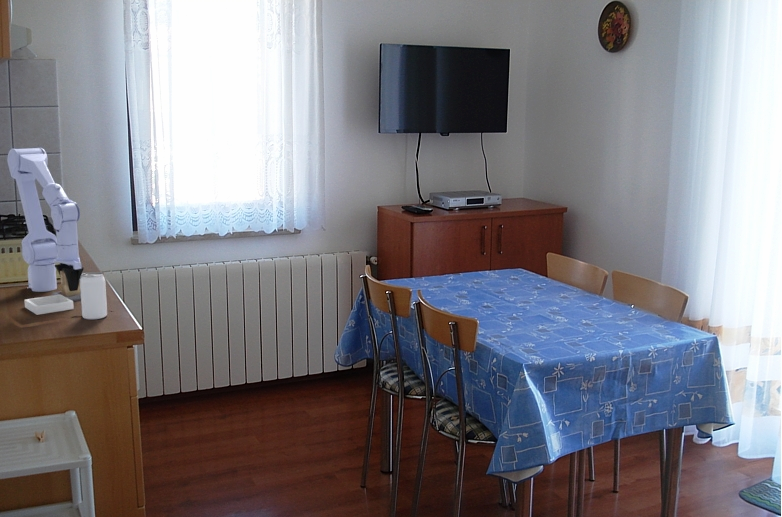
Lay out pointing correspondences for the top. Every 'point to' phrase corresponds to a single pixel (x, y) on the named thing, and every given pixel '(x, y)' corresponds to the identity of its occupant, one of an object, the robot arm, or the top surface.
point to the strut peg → (65, 286)
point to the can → (93, 296)
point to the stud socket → (73, 297)
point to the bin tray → (48, 304)
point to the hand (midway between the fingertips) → (70, 289)
